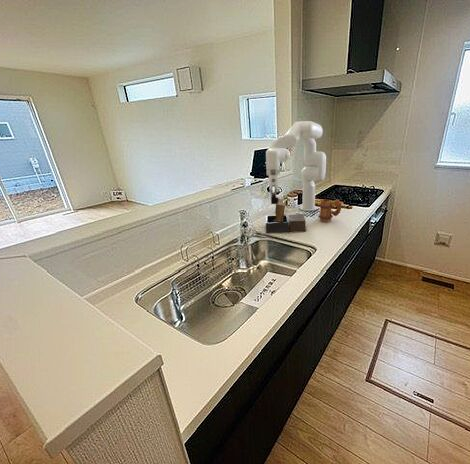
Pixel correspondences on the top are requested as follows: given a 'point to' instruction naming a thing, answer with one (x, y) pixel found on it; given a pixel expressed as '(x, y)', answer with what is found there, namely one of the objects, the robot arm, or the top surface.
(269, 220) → the basket
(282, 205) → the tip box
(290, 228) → the stand
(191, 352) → the top surface
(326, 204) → the mug
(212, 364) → the top surface
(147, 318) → the top surface
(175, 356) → the top surface
